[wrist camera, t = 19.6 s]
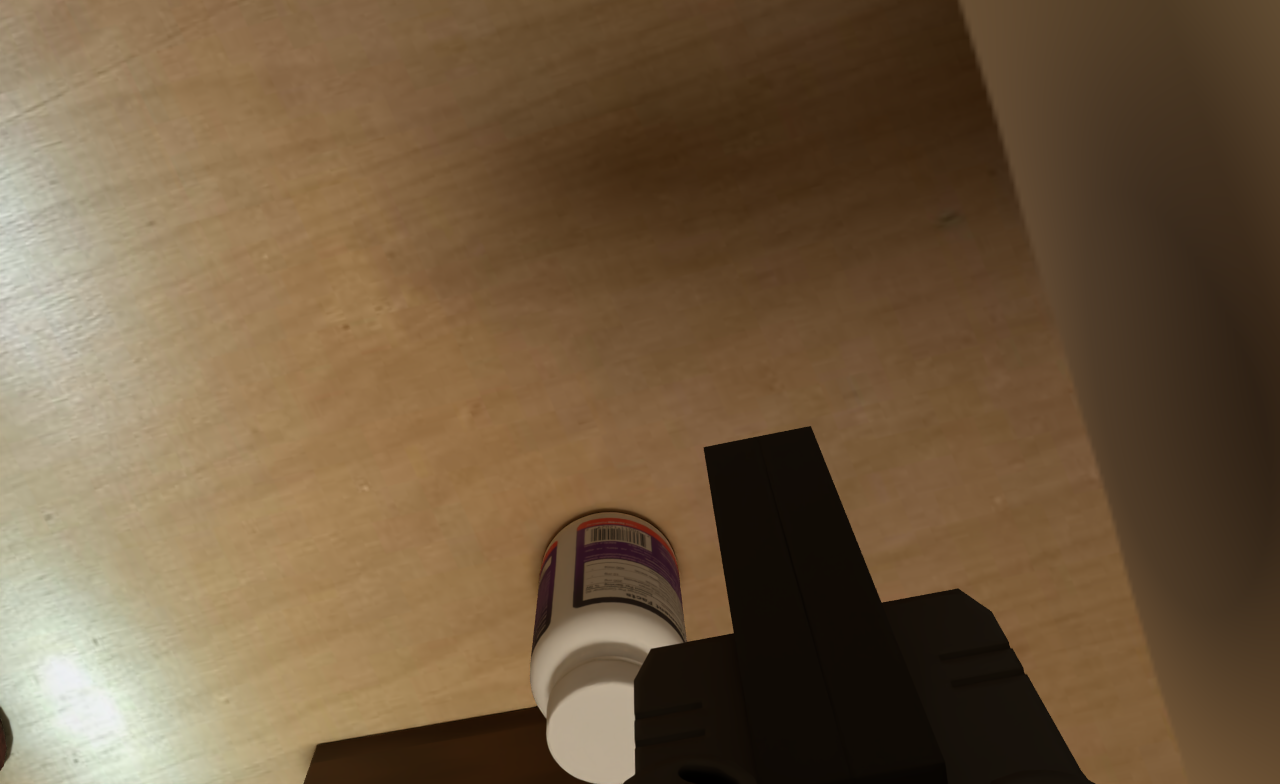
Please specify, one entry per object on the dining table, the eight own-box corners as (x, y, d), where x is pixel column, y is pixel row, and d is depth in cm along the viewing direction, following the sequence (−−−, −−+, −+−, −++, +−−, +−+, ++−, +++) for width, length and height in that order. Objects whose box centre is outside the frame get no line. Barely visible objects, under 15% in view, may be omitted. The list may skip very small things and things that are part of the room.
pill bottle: (601, 648, 43) (598, 831, 34) (513, 560, 41) (485, 728, 32) (706, 575, 42) (732, 744, 33) (619, 481, 40) (621, 632, 31)
